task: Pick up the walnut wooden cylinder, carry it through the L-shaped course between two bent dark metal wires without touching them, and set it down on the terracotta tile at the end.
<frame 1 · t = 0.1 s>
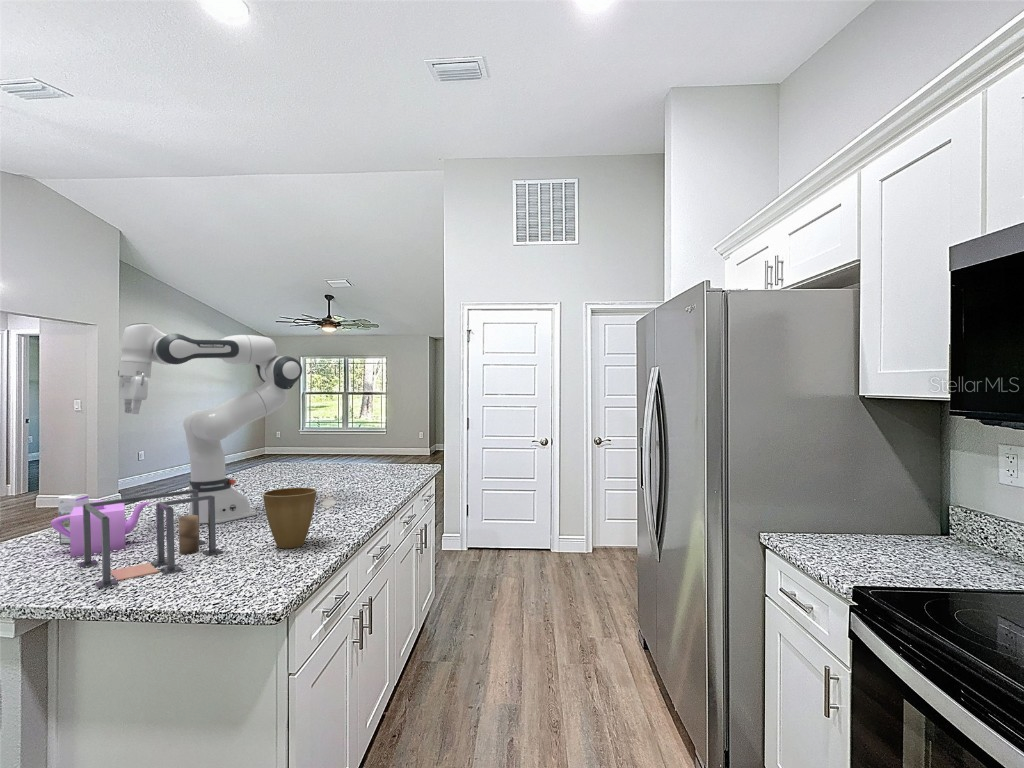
hand: (131, 413, 196), 39 cm above the counter, tool pointing down, fingers open, 8 cm apart
plant pot: (291, 545, 177), on the counter
buzz wire: (156, 562, 162), on the counter
syrup box: (75, 542, 185), on the counter
teapot: (104, 548, 179), on the counter
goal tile: (133, 572, 154), on the counter
walnut cylinder: (189, 551, 172), on the counter
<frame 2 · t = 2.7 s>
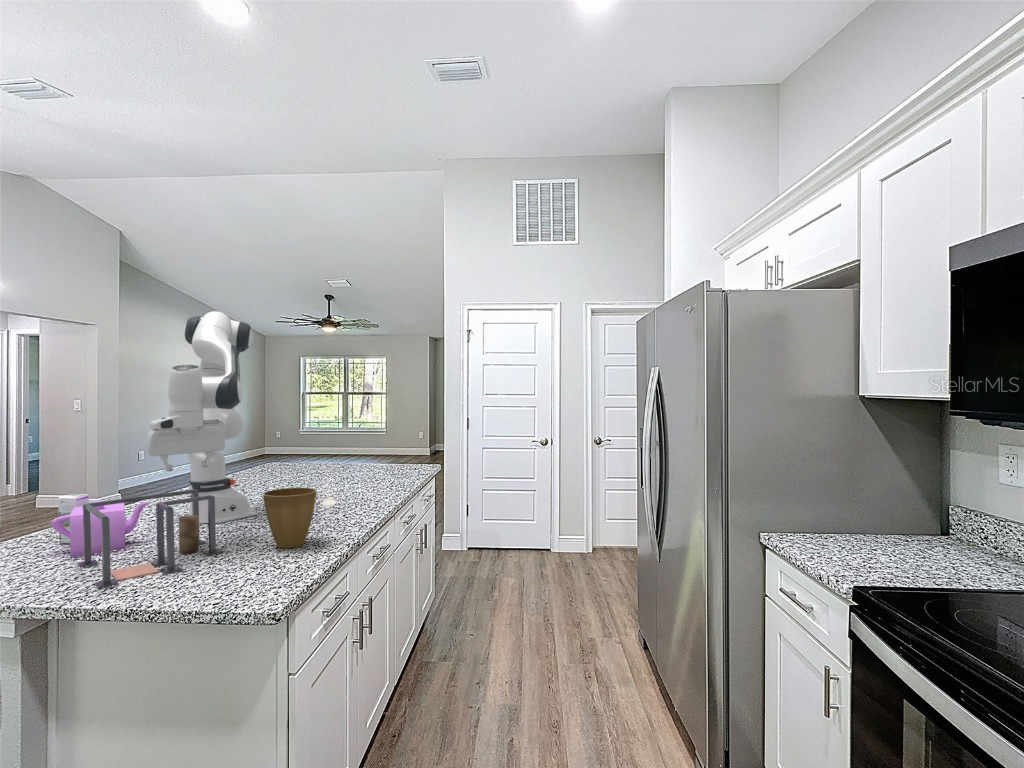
hand: (187, 469, 172), 24 cm above the counter, tool pointing down, fingers open, 8 cm apart
nothing on the counter moved.
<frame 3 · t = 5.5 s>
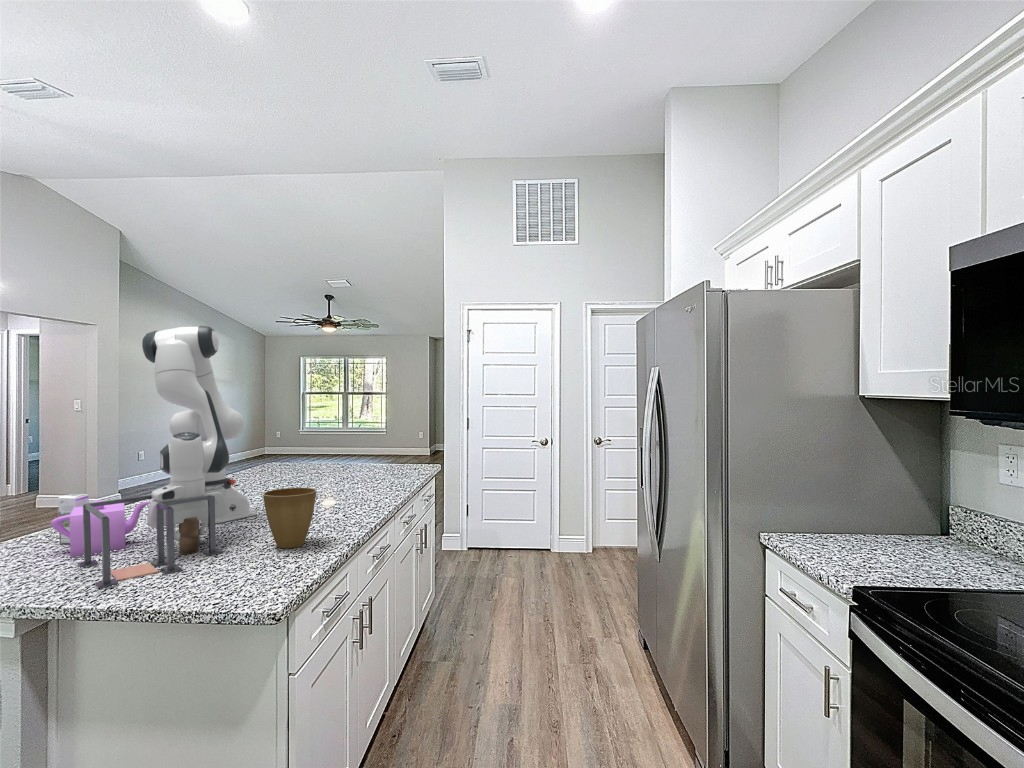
hand: (188, 537, 172), 4 cm above the counter, tool pointing down, fingers closed on walnut cylinder, 5 cm apart
walnut cylinder: (189, 551, 172), on the counter, touching gripper
everything else where it was.
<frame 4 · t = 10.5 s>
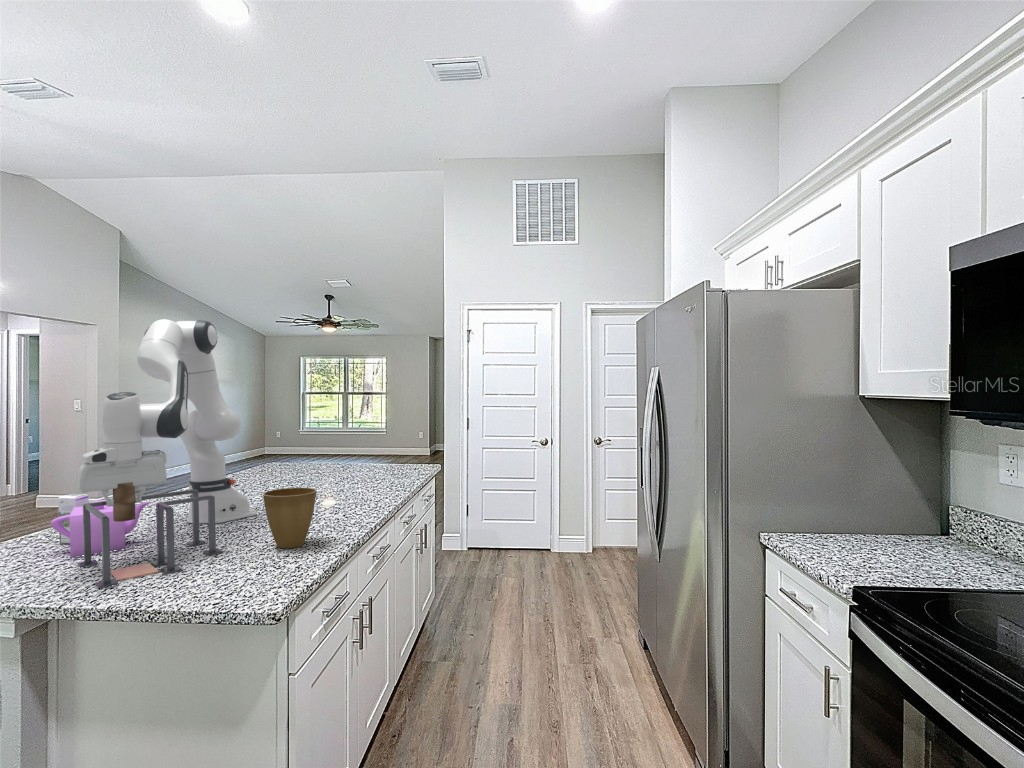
hand: (124, 504, 161), 16 cm above the counter, tool pointing down, fingers closed on walnut cylinder, 5 cm apart
walnut cylinder: (124, 519, 161), point 12 cm above the counter, touching gripper
everything else where it was.
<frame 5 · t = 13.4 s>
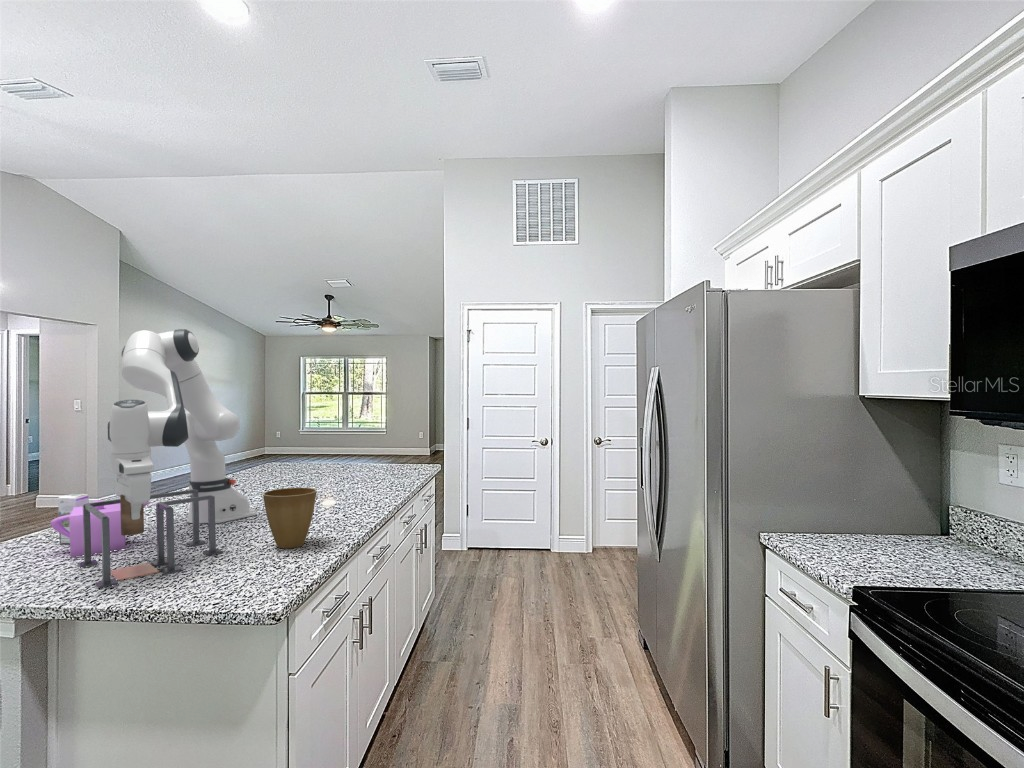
hand: (132, 517, 154), 14 cm above the counter, tool pointing down, fingers closed on walnut cylinder, 5 cm apart
walnut cylinder: (132, 533, 154), point 10 cm above the counter, touching gripper
everything else where it was.
when the fingers open (5 cm above the counter, at t = 16.0 s): walnut cylinder stays where it is, resting on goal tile.
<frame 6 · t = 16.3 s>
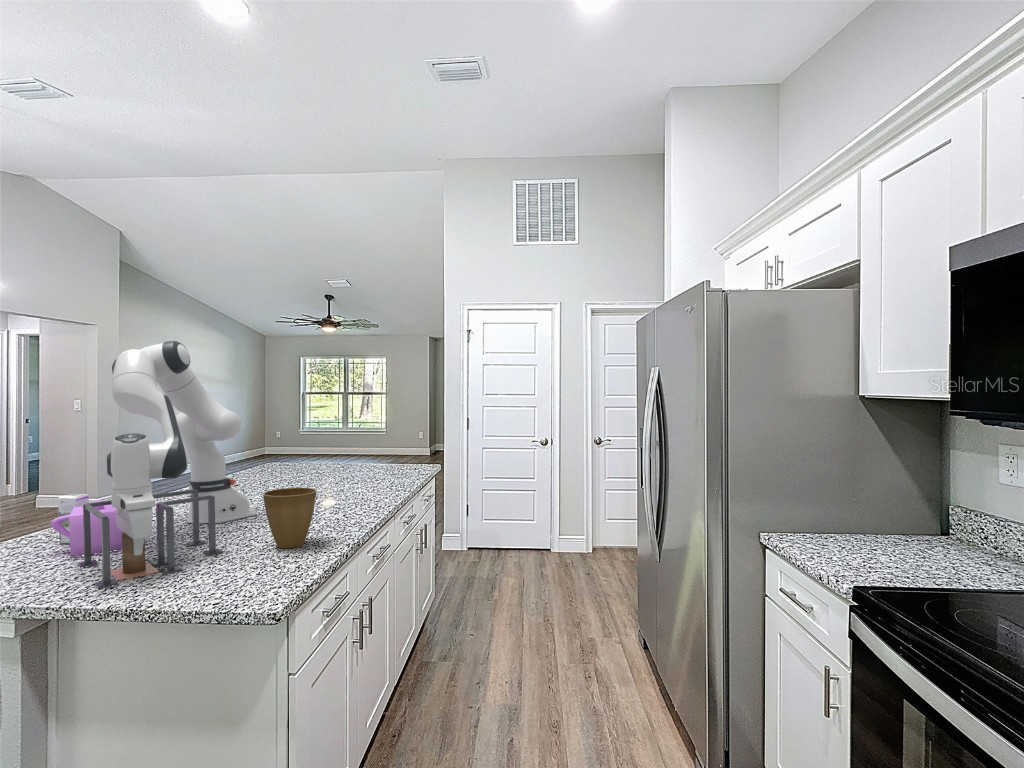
hand: (133, 551, 154), 5 cm above the counter, tool pointing down, fingers open, 7 cm apart
walnut cylinder: (134, 570, 154), resting on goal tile
everything else where it was.
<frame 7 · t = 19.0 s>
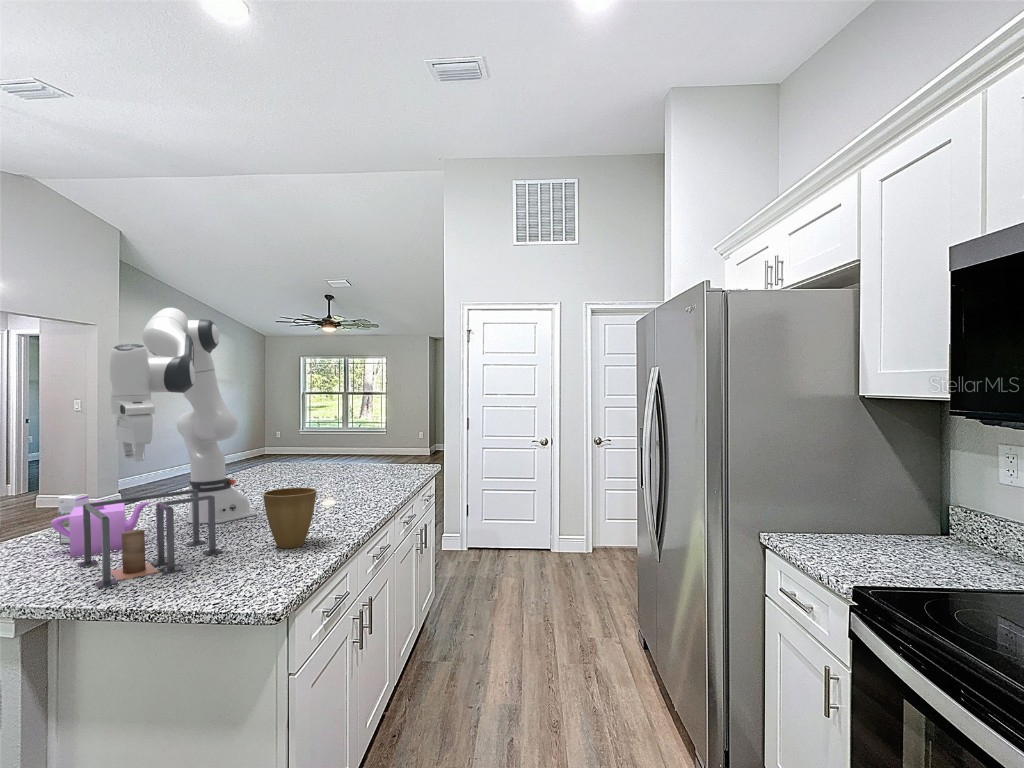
hand: (133, 459, 155), 29 cm above the counter, tool pointing down, fingers open, 8 cm apart
nothing on the counter moved.
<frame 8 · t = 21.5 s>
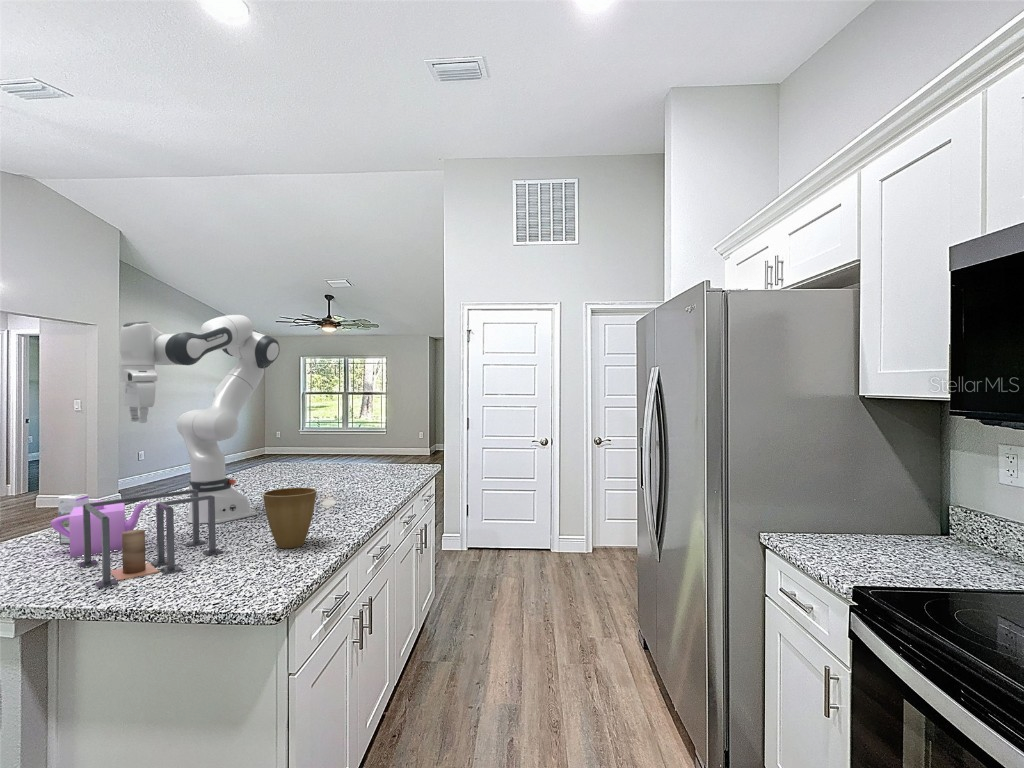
hand: (138, 422, 178), 37 cm above the counter, tool pointing down, fingers open, 8 cm apart
nothing on the counter moved.
at the end: walnut cylinder inside the target area on the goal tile (0.1 cm from its centre), point 0.4 cm above the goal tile's base; walnut cylinder tilted 0°; walnut cylinder touching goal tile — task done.
